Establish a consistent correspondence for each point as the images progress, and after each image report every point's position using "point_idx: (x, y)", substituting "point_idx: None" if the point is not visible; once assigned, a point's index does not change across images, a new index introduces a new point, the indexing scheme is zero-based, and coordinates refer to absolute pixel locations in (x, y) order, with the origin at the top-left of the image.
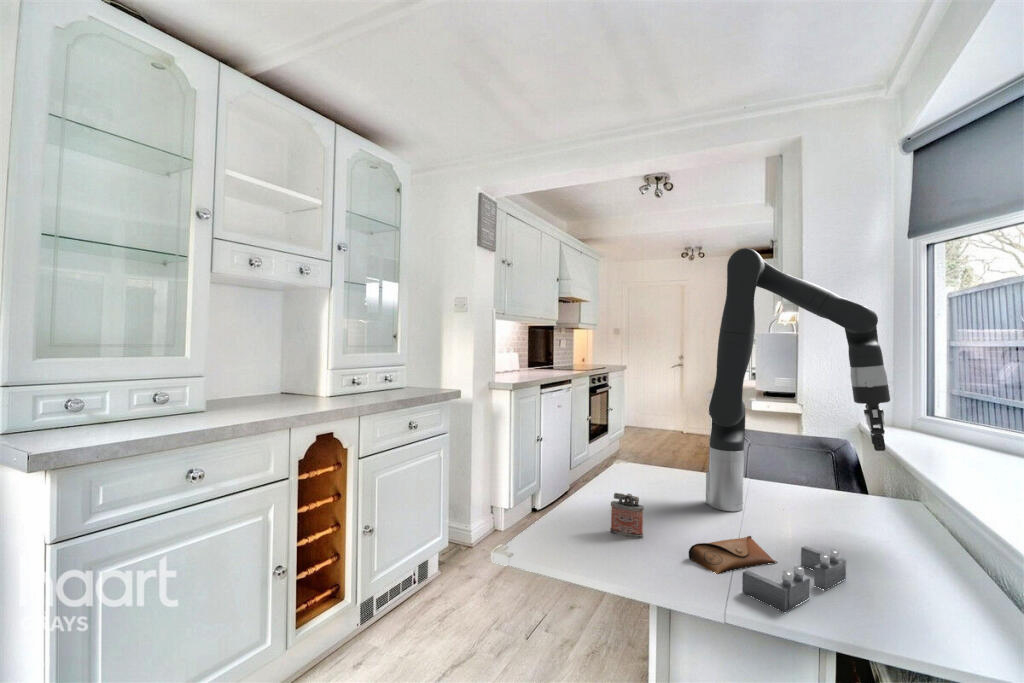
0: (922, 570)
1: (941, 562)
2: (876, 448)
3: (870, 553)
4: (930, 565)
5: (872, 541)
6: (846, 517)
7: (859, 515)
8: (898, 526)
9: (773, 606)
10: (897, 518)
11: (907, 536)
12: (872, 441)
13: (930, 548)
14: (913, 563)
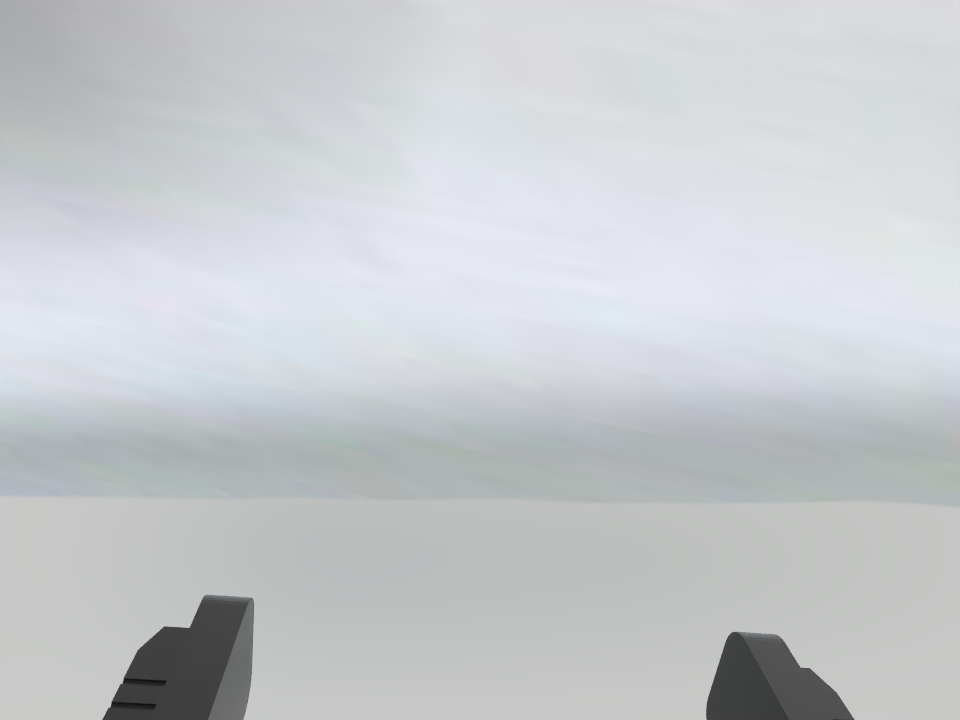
0: (19, 319)
1: (200, 413)
2: (165, 630)
3: (89, 130)
4: (121, 364)
5: (318, 180)
6: (735, 111)
7: (807, 199)
8: (669, 357)
9: None
10: (815, 381)
11: (513, 363)
12: (755, 663)
13: (378, 415)
14: (92, 303)
